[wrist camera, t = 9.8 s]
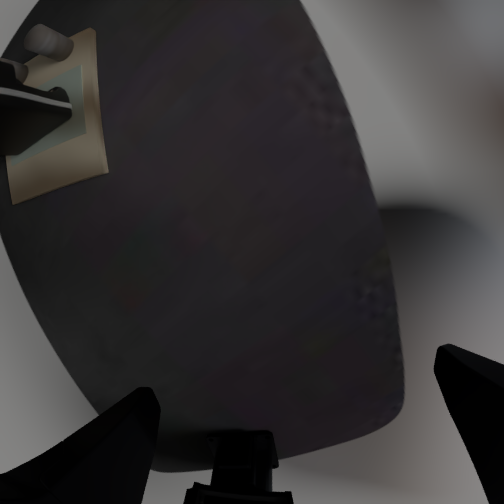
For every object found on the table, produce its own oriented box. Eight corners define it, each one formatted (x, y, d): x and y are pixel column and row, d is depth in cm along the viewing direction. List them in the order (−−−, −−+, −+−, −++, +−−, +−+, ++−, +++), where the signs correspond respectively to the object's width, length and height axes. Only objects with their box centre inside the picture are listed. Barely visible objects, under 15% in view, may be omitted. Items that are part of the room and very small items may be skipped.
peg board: (108, 172, 20) (69, 176, 15) (19, 203, 20) (-20, 213, 16) (96, 31, 16) (62, 9, 12) (10, 79, 17) (-26, 72, 12)
